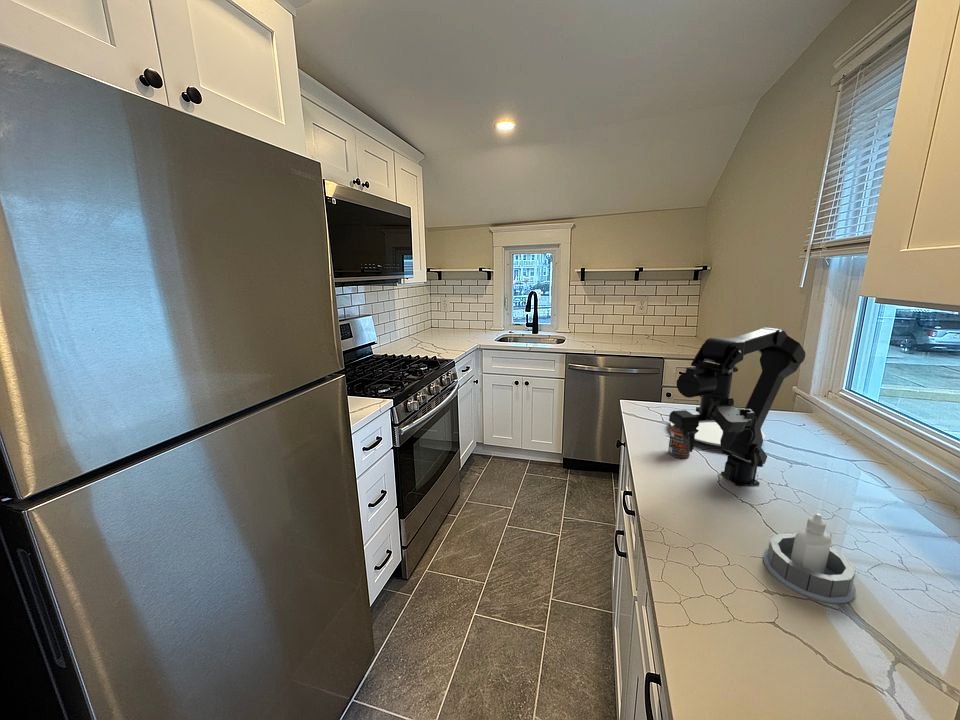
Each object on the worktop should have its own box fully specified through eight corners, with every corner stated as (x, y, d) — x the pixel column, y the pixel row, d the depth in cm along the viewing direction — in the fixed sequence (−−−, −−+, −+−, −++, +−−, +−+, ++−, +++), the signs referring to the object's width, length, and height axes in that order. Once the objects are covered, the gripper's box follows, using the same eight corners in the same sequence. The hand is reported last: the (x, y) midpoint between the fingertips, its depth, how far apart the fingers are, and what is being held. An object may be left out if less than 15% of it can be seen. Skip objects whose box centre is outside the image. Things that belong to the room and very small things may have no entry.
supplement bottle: (669, 457, 113) (672, 423, 111) (667, 448, 119) (670, 415, 116) (691, 460, 111) (695, 425, 109) (688, 451, 117) (692, 418, 114)
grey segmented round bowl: (806, 546, 76) (810, 529, 75) (876, 600, 64) (882, 580, 63) (747, 550, 76) (750, 533, 75) (805, 606, 63) (810, 586, 62)
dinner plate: (659, 438, 127) (660, 429, 126) (680, 414, 147) (681, 406, 146) (758, 463, 109) (760, 453, 108) (767, 432, 129) (768, 423, 128)
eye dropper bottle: (830, 583, 67) (844, 525, 64) (792, 574, 69) (803, 518, 66) (820, 565, 71) (832, 510, 68) (783, 557, 73) (794, 504, 70)
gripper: (700, 404, 80) (692, 469, 84) (781, 400, 82) (769, 464, 85) (670, 388, 91) (664, 446, 95) (743, 385, 92) (734, 443, 96)
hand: (707, 450), depth 92 cm, fingers open, 9 cm apart
